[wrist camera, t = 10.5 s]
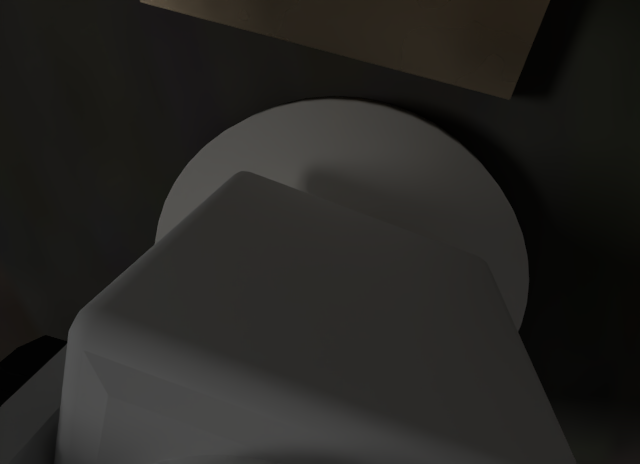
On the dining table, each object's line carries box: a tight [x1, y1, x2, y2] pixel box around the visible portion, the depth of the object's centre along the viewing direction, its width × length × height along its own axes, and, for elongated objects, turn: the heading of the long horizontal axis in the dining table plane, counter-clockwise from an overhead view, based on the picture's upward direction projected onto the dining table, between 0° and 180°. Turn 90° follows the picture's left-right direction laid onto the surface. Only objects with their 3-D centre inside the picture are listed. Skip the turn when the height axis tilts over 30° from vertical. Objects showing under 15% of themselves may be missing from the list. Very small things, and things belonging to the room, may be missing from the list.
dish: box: [155, 96, 529, 331], centre depth 15 cm, size 12×12×1 cm
